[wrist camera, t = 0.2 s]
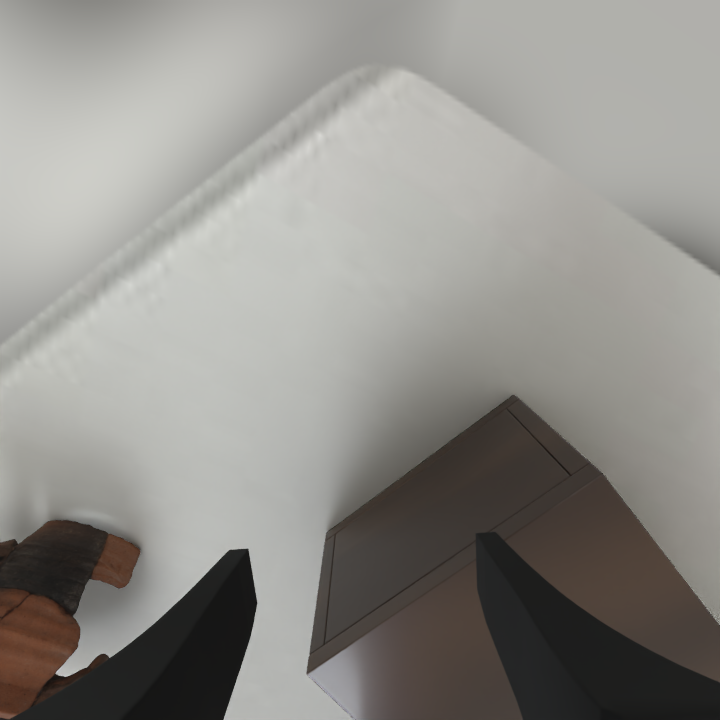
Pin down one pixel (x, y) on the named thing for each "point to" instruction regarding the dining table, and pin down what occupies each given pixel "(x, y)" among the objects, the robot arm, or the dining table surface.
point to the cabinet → (459, 576)
